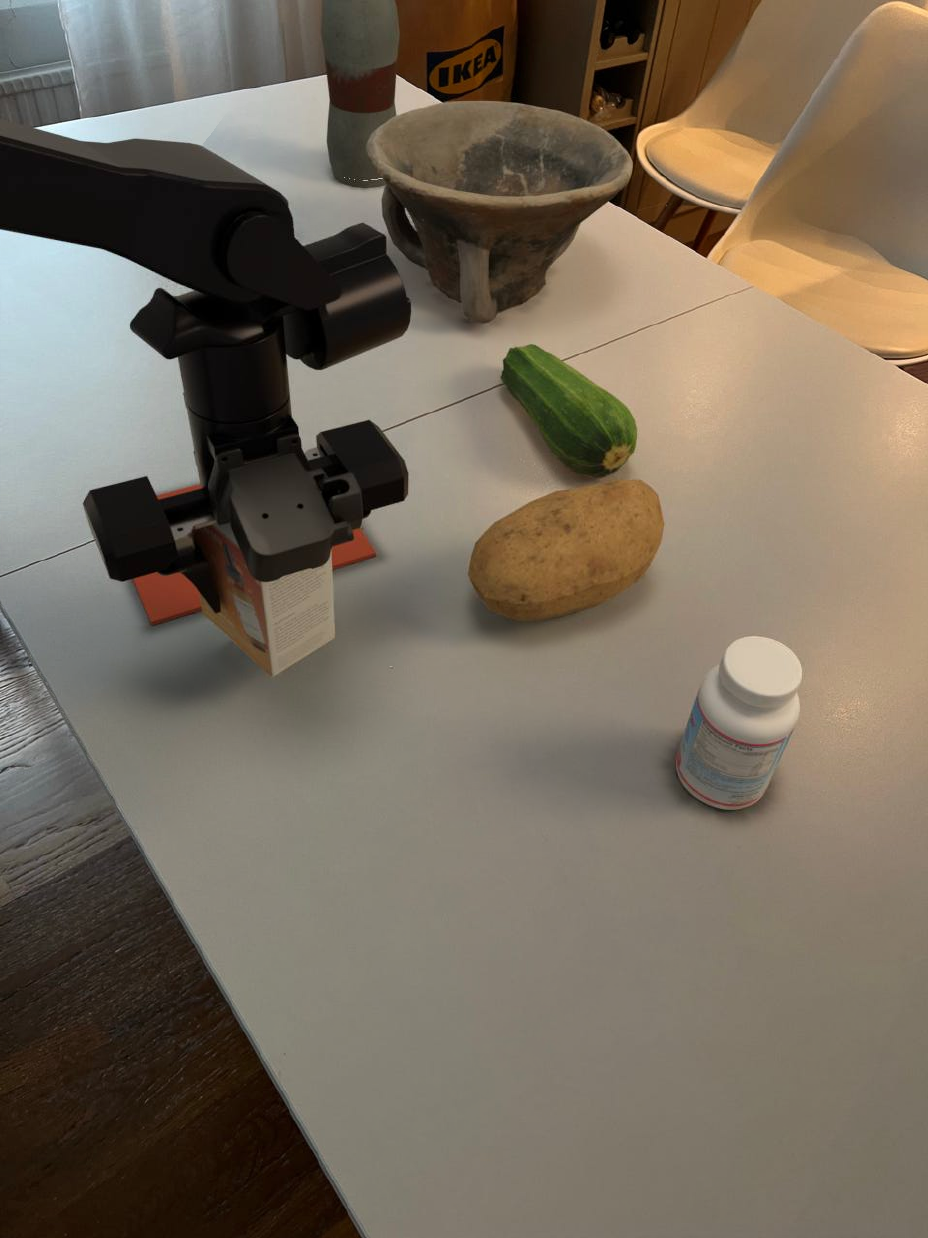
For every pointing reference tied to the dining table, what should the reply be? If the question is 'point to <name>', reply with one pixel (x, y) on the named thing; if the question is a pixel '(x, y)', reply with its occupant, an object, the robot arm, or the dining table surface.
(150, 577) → the tea towel
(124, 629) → the dining table surface
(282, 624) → the small box
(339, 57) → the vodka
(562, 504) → the potato
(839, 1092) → the dining table surface
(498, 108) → the bowl
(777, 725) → the pill bottle
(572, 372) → the vegetable
